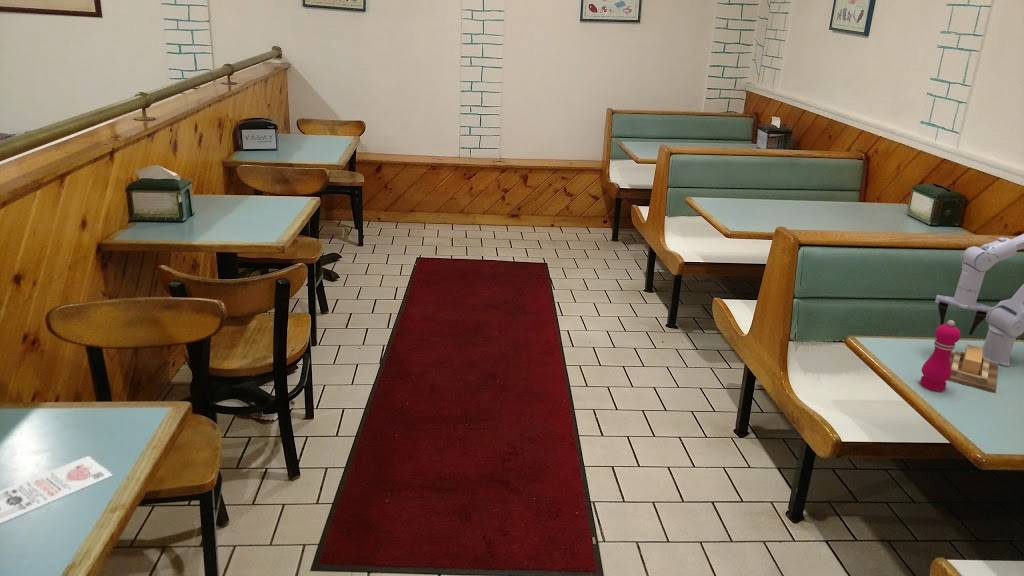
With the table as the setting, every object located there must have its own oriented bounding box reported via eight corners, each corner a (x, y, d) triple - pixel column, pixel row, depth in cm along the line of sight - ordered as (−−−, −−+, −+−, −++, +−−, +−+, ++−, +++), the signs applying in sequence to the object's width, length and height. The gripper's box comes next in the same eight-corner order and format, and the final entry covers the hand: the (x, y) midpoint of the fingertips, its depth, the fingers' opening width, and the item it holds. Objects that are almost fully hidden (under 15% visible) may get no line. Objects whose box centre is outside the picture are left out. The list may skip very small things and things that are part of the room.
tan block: (962, 359, 226) (967, 344, 224) (978, 363, 224) (983, 348, 223) (960, 374, 217) (965, 358, 215) (976, 378, 215) (981, 363, 213)
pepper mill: (951, 388, 210) (972, 322, 203) (938, 394, 207) (958, 327, 199) (926, 377, 216) (945, 313, 209) (912, 383, 212) (931, 317, 205)
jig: (944, 353, 232) (946, 345, 231) (997, 366, 225) (999, 359, 225) (938, 377, 216) (940, 369, 215) (994, 392, 210) (997, 384, 209)
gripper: (939, 285, 220) (927, 328, 225) (996, 298, 213) (983, 341, 218) (941, 279, 226) (929, 320, 231) (997, 291, 219) (984, 333, 224)
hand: (955, 330), depth 225 cm, fingers open, 7 cm apart
